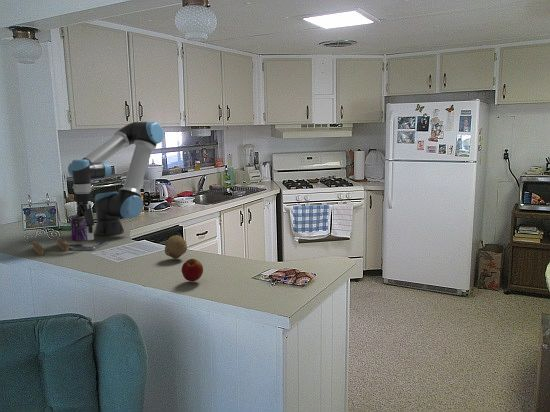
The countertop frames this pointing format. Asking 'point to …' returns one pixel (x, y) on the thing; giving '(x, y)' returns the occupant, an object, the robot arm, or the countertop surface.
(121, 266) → the countertop surface
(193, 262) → the apple
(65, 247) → the guide channel
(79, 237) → the beverage can
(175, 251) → the natural sponge
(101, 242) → the hinge
